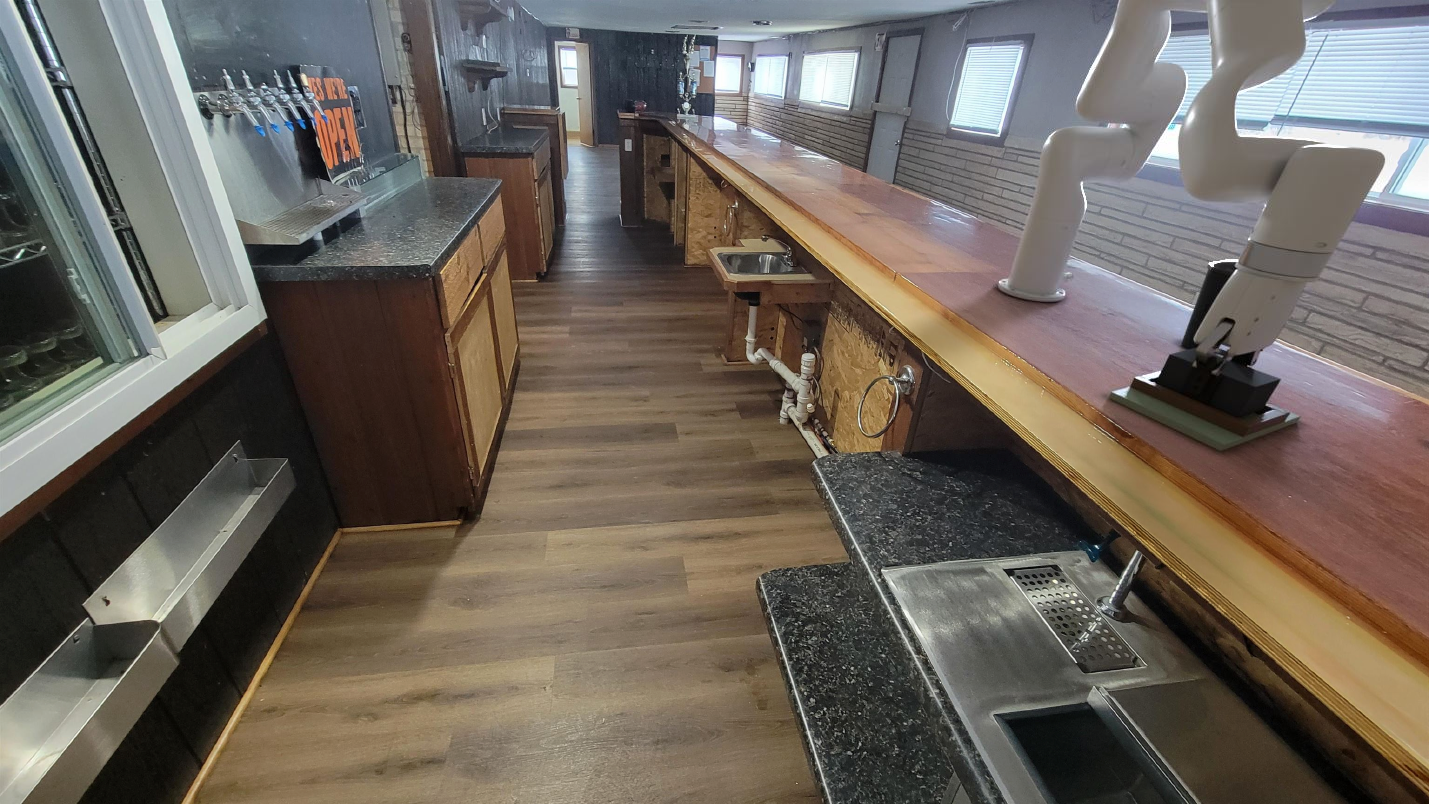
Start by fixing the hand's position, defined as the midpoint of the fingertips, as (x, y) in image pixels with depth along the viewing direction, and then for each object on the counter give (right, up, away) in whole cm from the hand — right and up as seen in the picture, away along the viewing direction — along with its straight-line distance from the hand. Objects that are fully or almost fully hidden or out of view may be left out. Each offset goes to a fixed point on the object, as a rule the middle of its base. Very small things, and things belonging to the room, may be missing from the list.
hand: (1208, 392), depth 75 cm
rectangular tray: (0, -2, +1) cm, 3 cm away
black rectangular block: (0, 0, 0) cm, 1 cm away
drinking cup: (+16, +8, +21) cm, 27 cm away
